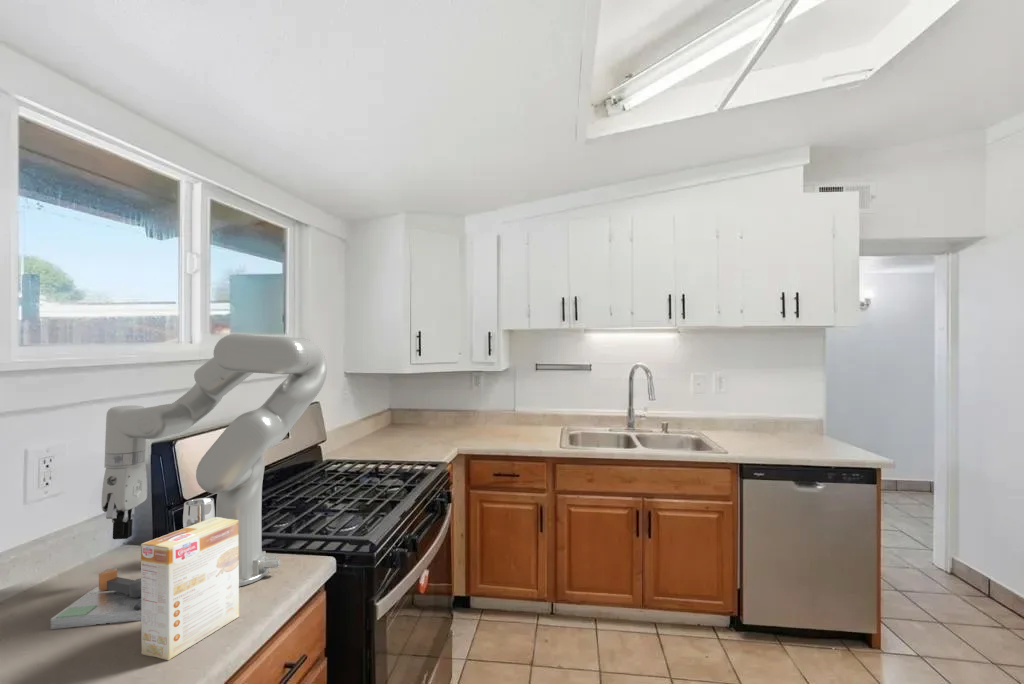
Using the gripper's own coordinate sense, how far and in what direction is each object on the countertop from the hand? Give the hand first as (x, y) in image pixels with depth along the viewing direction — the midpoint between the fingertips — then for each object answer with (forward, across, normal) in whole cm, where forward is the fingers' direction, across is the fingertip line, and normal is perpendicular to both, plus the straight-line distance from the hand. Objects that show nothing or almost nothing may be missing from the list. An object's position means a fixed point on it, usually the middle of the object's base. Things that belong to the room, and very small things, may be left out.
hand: (122, 537), depth 115 cm
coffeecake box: (+10, -27, -27) cm, 39 cm away
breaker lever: (+8, -10, -6) cm, 14 cm away
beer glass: (+10, +10, -12) cm, 19 cm away
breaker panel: (+10, -13, -6) cm, 17 cm away
